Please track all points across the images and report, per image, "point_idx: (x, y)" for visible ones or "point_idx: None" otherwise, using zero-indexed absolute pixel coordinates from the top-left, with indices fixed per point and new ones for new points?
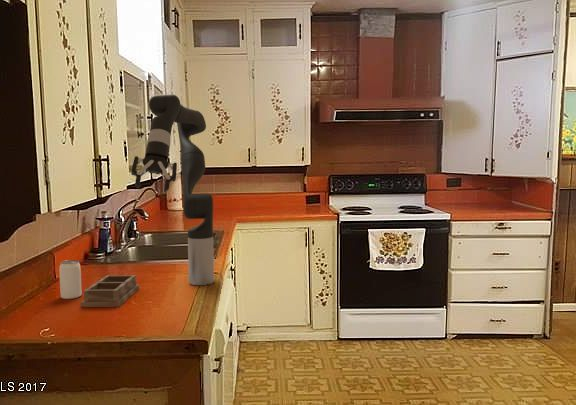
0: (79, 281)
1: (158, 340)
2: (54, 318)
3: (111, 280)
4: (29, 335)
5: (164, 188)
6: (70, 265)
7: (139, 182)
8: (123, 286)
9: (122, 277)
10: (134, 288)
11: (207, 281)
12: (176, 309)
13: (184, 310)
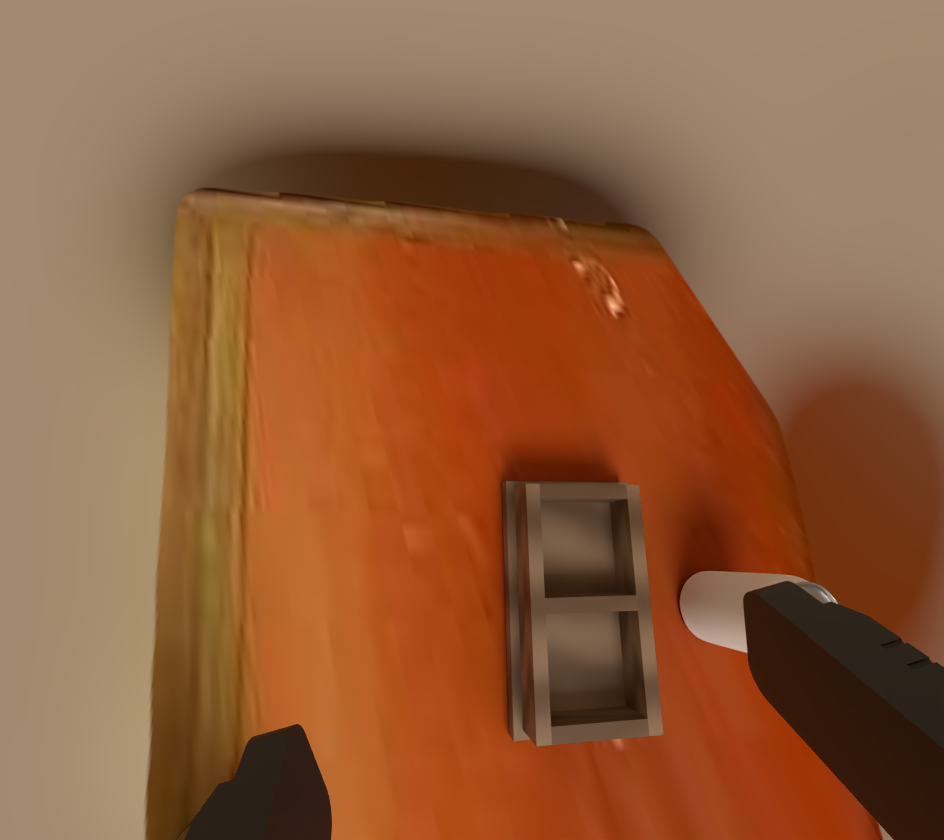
0: (713, 606)
1: (307, 200)
2: (639, 384)
3: (627, 714)
4: (629, 270)
5: (288, 732)
6: None
7: (803, 624)
8: (527, 559)
9: (587, 721)
10: (511, 669)
11: (185, 831)
12: (297, 444)
13: (267, 431)
